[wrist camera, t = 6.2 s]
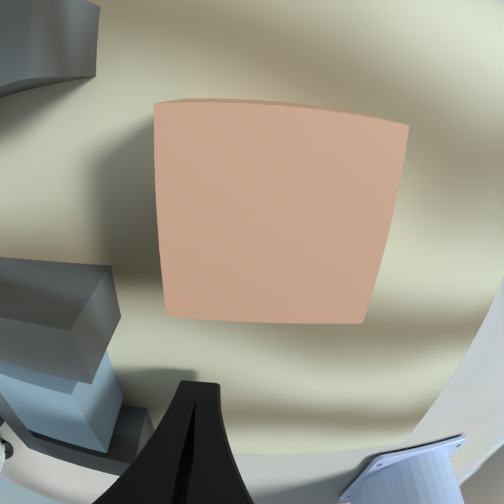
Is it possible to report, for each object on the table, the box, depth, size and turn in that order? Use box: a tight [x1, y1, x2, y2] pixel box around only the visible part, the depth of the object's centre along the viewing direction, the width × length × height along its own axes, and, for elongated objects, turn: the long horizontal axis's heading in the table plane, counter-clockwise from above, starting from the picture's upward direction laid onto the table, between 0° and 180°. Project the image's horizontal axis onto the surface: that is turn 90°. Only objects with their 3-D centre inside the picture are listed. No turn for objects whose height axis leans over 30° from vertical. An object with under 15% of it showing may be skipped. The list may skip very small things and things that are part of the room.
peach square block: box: [154, 98, 409, 324], centre depth 7 cm, size 4×4×3 cm
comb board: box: [0, 0, 504, 476], centre depth 9 cm, size 22×22×4 cm
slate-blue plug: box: [0, 349, 123, 453], centre depth 10 cm, size 4×4×3 cm
